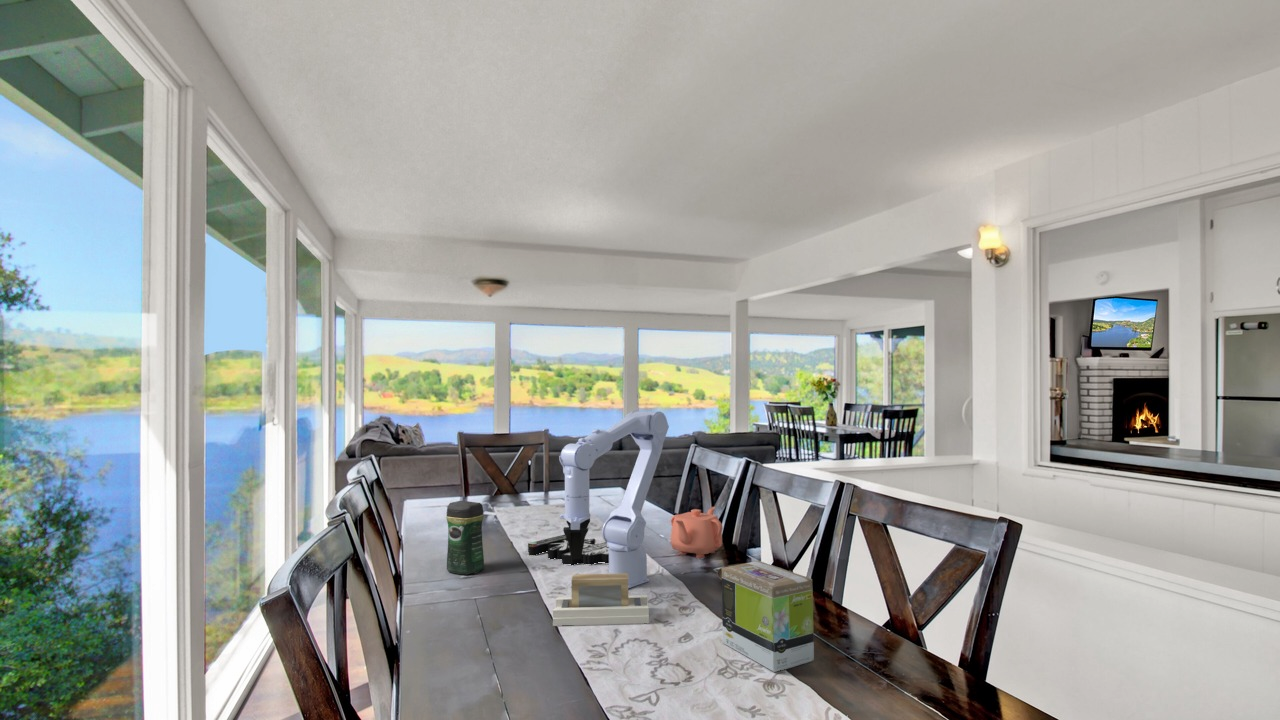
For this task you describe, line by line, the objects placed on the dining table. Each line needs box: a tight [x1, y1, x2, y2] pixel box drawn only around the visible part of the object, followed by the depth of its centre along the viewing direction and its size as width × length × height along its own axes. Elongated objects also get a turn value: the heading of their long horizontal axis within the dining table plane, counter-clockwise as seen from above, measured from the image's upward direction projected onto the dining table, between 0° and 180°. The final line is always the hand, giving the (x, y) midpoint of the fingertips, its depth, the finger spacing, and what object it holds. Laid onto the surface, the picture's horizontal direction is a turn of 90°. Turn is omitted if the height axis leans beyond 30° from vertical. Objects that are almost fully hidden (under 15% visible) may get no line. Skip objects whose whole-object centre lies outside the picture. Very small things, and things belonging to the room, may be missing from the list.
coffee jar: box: [446, 500, 485, 575], centre depth 172 cm, size 10×8×19 cm
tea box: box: [721, 560, 815, 673], centre depth 118 cm, size 15×10×15 cm
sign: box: [527, 534, 609, 566], centre depth 185 cm, size 19×3×30 cm
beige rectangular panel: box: [571, 573, 629, 608], centre depth 137 cm, size 4×12×7 cm, turn 92°
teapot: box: [670, 506, 724, 559], centre depth 186 cm, size 15×17×13 cm
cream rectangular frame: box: [552, 594, 650, 627], centre depth 137 cm, size 20×9×3 cm, turn 92°
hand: (577, 554), depth 148 cm, fingers open, 7 cm apart
